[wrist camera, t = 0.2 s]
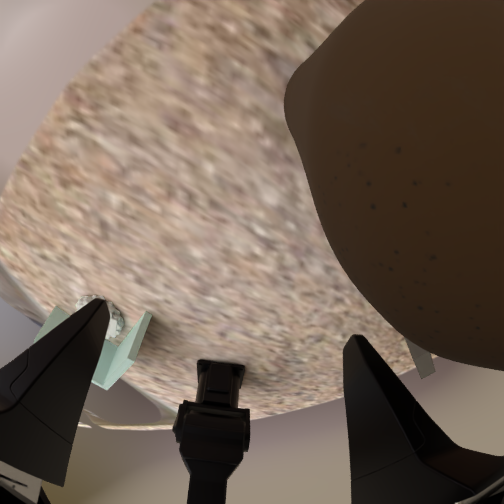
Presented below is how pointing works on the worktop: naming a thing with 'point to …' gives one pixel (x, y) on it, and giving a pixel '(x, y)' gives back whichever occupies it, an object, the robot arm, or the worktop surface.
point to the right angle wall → (107, 342)
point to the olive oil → (413, 165)
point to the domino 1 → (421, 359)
